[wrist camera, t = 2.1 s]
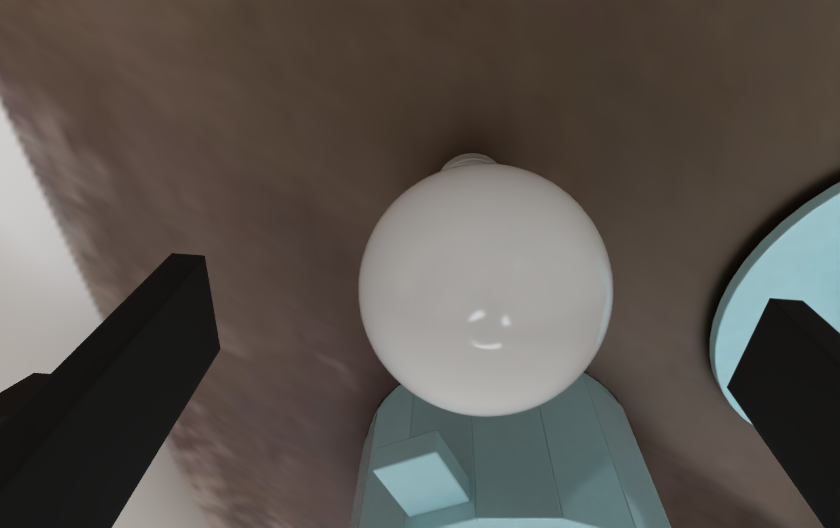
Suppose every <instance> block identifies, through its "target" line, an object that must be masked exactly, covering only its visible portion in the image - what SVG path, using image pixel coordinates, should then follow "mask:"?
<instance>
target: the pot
mask: <svg viewBox="0 0 840 528" xmlns="http://www.w3.org/2000/svg"><path fill="white" fill-rule="evenodd" d="M349 528H671V525H670V523H669V520H668V518H667V515H666V513H665V510H664V508H663V505H662V503H661V500H660V498H659V495H658V493H657V491H656V488H655V486H654V483H653V481H652V478H651V476H650V473H649V471H648V468H647V466H646V463H645V461H644V459H643V456H642V454H641V451H640V449H639V446H638V444H637V441H636V439H635V436H634V434H633V432H632V429H631V427H630V424H629V422H628V419H627V417H626V414H625V412H624V410H623V407H622V406H621V405H620V404H619V403H618V401H617V400H616V399H615V398H614V396H613V395H612V394H611V393H610V392H609V391H608V390H607V389H606V388H605V387H604V386H603V385H602V384H600V383H599V382H598V381H596V380H595V379H593V378H592V377H590V376H589V375H587V374H586V373H584V372H583V374H582V375H581V376H580V377H579V378H578V379H577V380H576V381H575V382H574V383H573V384H572V385H570V386H569V387H568V388H567V389H566V390H564V391H563V392H562V393H560V394H559V395H557V396H556V397H554V398H553V399H551V400H549V401H547V402H545V403H544V404H542V405H539V406H537V407H535V408H532V409H529V410H526V411H523V412H520V413H516V414H511V415H505V416H496V417H478V416H468V415H462V414H458V413H454V412H450V411H447V410H444V409H441V408H439V407H436V406H434V405H432V404H430V403H428V402H426V401H424V400H422V399H420V398H419V397H417V396H416V395H414V394H413V393H411V392H410V391H409V390H407V389H406V388H405V387H404V386H402V385H401V384H400V385H399V386H398V387H396V388H395V389H394V390H393V391H392V392H391V393H390V394H389V395H388V396H387V397H386V398H385V400H384V401H383V402H382V404H381V405H380V406H379V408H378V409H377V411H376V413H375V415H374V417H373V419H372V421H371V425H370V428H369V431H368V435H367V438H366V440H365V442H364V446H363V451H362V457H361V463H360V468H359V474H358V479H357V485H356V491H355V496H354V502H353V508H352V513H351V519H350V524H349Z"/></svg>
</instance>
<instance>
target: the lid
mask: <svg viewBox="0 0 840 528" xmlns="http://www.w3.org/2000/svg"><path fill="white" fill-rule="evenodd" d="M770 298H776V299H790V300H803V301H804V302H805V303H806V304H807V305H809V306H810V307H811V308H812V309H813V310H814V311H815V312H816V313H818V314H819V315H820V316H821V317H822V318H823V319H824V320H826V321H827V322H828V323H829V324H830V325H831V326H832V327H833V328H835V329H836V330H837V331H838V332H839V333H840V182H839V183H837V184H835V185H833V186H831V187H830V188H828V189H827V190H825V191H824V192H822V193H820V194H819V195H817V196H816V197H814V198H813V199H811V200H810V201H808V202H807V203H805V204H804V205H803V206H801V207H800V208H799V209H797V210H796V211H795V212H794V213H792V214H791V215H790V216H789V217H787V218H786V219H785V220H783V221H782V222H781V223H780V224H779V225H778V226H777V227H776V228H775V229H774V230H773V231H772V232H770V233H769V234H768V235H767V236H766V237H765V238H764V239H763V240H762V241H761V242H760V243H759V244H758V246H757V247H756V248H755V249H754V250H753V251H752V252H751V254H750V255H749V256H748V257H747V258H746V259H745V261H744V262H743V263H742V265H741V266H740V268H739V269H738V271H737V272H736V274H735V275H734V276H733V278H732V279H731V281H730V283H729V285H728V286H727V288H726V290H725V292H724V294H723V296H722V298H721V300H720V302H719V305H718V308H717V311H716V314H715V316H714V319H713V324H712V329H711V334H710V361H711V366H712V372H713V374H714V377H715V379H716V382H717V385H718V387H719V388H720V390H721V391H722V393H723V394H724V396H725V398H726V399H727V401H728V402H729V404H730V405H731V406H732V407H733V409H734V410H735V411H736V412H737V413H738V414H739V415H740V416H741V417H742V418H744V419H745V420H746V421H748V422H749V423H750V424H752V423H751V422H750V420H749V419H748V417H747V416H746V414H745V413H744V412H743V410H742V409H741V407H740V406H739V404H738V403H737V402H736V400H735V399H734V397H733V396H732V394H731V393H730V391H729V390H728V389H727V386H728V383H729V381H730V379H731V377H732V375H733V373H734V371H735V369H736V367H737V365H738V363H739V361H740V359H741V357H742V354H743V352H744V350H745V348H746V346H747V344H748V342H749V340H750V338H751V336H752V334H753V332H754V330H755V328H756V325H757V323H758V321H759V319H760V317H761V315H762V313H763V311H764V309H765V307H766V305H767V303H768V301H769V299H770ZM752 425H753V424H752Z"/></svg>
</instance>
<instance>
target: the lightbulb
mask: <svg viewBox="0 0 840 528" xmlns="http://www.w3.org/2000/svg"><path fill="white" fill-rule="evenodd" d="M613 295H614V286H613V275H612V268H611V263H610V259H609V256H608V253H607V249H606V247H605V244H604V242H603V239H602V237H601V235H600V233H599V231H598V229H597V228H596V226H595V224H594V223H593V221H592V220H591V218H590V217H589V215H588V214H587V213H586V212H585V210H584V209H583V208H582V207H581V206H580V204H579V203H578V202H577V201H576V200H575V199H574V198H573V197H571V196H570V195H569V194H568V193H567V192H566V191H564V190H563V189H562V188H560V187H559V186H557V185H556V184H554V183H553V182H551V181H549V180H548V179H546V178H544V177H542V176H540V175H538V174H536V173H533V172H530V171H528V170H525V169H522V168H518V167H514V166H510V165H504V164H497V163H496V162H495V161H494V160H493V159H491V158H490V157H488V156H485V155H482V154H478V153H467V154H462V155H459V156H457V157H455V158H453V159H451V160H450V161H449V162H447V163H446V164H445V165H444V166H443V168H442V169H441V171H440V172H437V173H435V174H432V175H430V176H428V177H426V178H424V179H422V180H421V181H419V182H417V183H416V184H414V185H413V186H411V187H410V188H409V189H407V190H406V191H405V192H404V193H402V194H401V195H400V196H399V197H398V198H397V199H396V200H395V201H394V202H393V203H392V204H391V205H390V206H389V207H388V209H387V210H386V211H385V212H384V214H383V215H382V216H381V218H380V219H379V221H378V222H377V224H376V226H375V227H374V229H373V231H372V233H371V235H370V237H369V240H368V242H367V245H366V247H365V250H364V253H363V257H362V261H361V265H360V272H359V281H358V298H359V307H360V313H361V318H362V322H363V325H364V329H365V332H366V334H367V337H368V339H369V342H370V344H371V346H372V348H373V350H374V351H375V353H376V355H377V356H378V358H379V359H380V361H381V362H382V364H383V365H384V366H385V368H386V369H387V370H388V371H389V373H390V374H391V375H392V376H393V377H394V378H395V379H396V380H397V381H398V382H399V383H400V384H401V385H402V386H404V387H405V388H406V389H407V390H409V391H410V392H411V393H413V394H414V395H416V396H417V397H419V398H420V399H422V400H424V401H426V402H428V403H430V404H432V405H434V406H436V407H439V408H441V409H444V410H447V411H450V412H454V413H458V414H462V415H468V416H478V417H496V416H505V415H511V414H516V413H520V412H523V411H526V410H529V409H532V408H535V407H537V406H539V405H542V404H544V403H545V402H547V401H549V400H551V399H553V398H554V397H556V396H557V395H559V394H560V393H562V392H563V391H564V390H566V389H567V388H568V387H569V386H570V385H572V384H573V383H574V382H575V381H576V380H577V379H578V378H579V377H580V376H581V375H582V374H583V372H584V371H585V370H586V369H587V367H588V366H589V365H590V363H591V362H592V360H593V359H594V357H595V356H596V354H597V352H598V350H599V349H600V347H601V345H602V342H603V340H604V338H605V335H606V332H607V329H608V326H609V323H610V318H611V313H612V307H613Z"/></svg>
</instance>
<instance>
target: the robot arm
mask: <svg viewBox="0 0 840 528" xmlns="http://www.w3.org/2000/svg"><path fill="white" fill-rule="evenodd" d="M219 350H220V344H219V338H218V332H217V326H216V320H215V314H214V308H213V303H212V297H211V291H210V285H209V279H208V273H207V267H206V261H205V256H202V255H188V254H175V253H172V254H171V255H170V256H169V257H168V258H167V259H166V260H165V261H164V262H163V263H162V264H161V265H160V266H159V267H158V268H157V269H156V270H155V271H154V272H153V273H152V274H151V275H150V276H149V277H148V278H147V279H146V280H145V281H144V282H143V283H142V284H141V285H140V286H139V287H138V288H137V289H136V290H135V291H134V292H133V293H132V294H131V295H130V296H129V297H128V298H127V299H126V300H125V301H124V302H123V303H121V304H120V305H119V306H118V307H117V308H116V309H115V310H114V311H113V312H112V313H111V314H110V315H109V316H108V317H107V318H106V319H105V320H104V321H103V322H102V323H101V324H100V325H99V326H98V327H97V328H96V329H95V330H94V332H93V333H91V335H90V336H88V338H86V339H85V340H84V341H83V342H82V343H81V344H80V345H79V346H78V347H77V348H76V350H75V351H73V352H72V353H71V355H69V356H68V357H67V359H65V360H64V361H63V362H62V363H61V365H59V366H58V368H56V369H55V370H54V371H53V372H52V373H51V374H41V373H33V374H31V375H30V376H28V377H26V378H25V379H23V380H21V381H19V382H18V383H16V384H14V385H13V386H11V387H9V388H8V389H6V390H4V391H2V392H1V393H0V528H112V526H113V524H114V523H115V521H116V520H117V518H118V516H119V515H120V513H121V511H122V510H123V508H124V506H125V505H126V503H127V502H128V500H129V498H130V497H131V495H132V493H133V492H134V490H135V488H136V487H137V485H138V483H139V482H140V480H141V478H142V477H143V475H144V474H145V472H146V470H147V469H148V467H149V465H150V464H151V462H152V460H153V459H154V457H155V456H156V454H157V452H158V450H159V449H160V447H161V446H162V444H163V442H164V441H165V439H166V437H167V436H168V434H169V433H170V431H171V429H172V428H173V426H174V424H175V423H176V421H177V419H178V418H179V416H180V414H181V413H182V411H183V410H184V408H185V406H186V405H187V403H188V401H189V400H190V398H191V396H192V395H193V393H194V391H195V390H196V388H197V387H198V385H199V383H200V382H201V380H202V378H203V377H204V375H205V373H206V372H207V370H208V368H209V367H210V365H211V364H212V362H213V360H214V359H215V357H216V355H217V354H218V352H219ZM727 389H728V390H729V391H730V393H731V394H732V396H733V397H734V399H735V400H736V402H737V403H738V404H739V406H740V407H741V409H742V410H743V412H744V413H745V414H746V416H747V417H748V419H749V420H750V422H751V423H752V424H753V426H754V427H755V429H756V430H757V432H758V433H759V434H760V436H761V437H762V439H763V440H764V442H765V443H766V444H767V446H768V447H769V449H770V450H771V452H772V453H773V454H774V456H775V457H776V459H777V460H778V462H779V463H780V464H781V466H782V467H783V469H784V470H785V472H786V473H787V474H788V476H789V477H790V479H791V480H792V482H793V483H794V484H795V486H796V487H797V489H798V490H799V492H800V493H801V494H802V496H803V497H804V499H805V500H806V502H807V503H808V505H809V506H810V507H811V509H812V510H813V512H814V513H815V515H816V516H817V517H818V519H819V520H820V522H821V523H822V525H823V526H824V527H825V528H840V333H839V332H838V331H837V330H836V329H835V328H833V327H832V326H831V325H830V324H829V323H828V322H827V321H826V320H824V319H823V318H822V317H821V316H820V315H819V314H818V313H816V312H815V311H814V310H813V309H812V308H811V307H810V306H809V305H807V304H806V303H805V302H804V301H803V300H790V299H776V298H770V299H769V301H768V303H767V305H766V307H765V309H764V311H763V313H762V315H761V317H760V319H759V321H758V323H757V325H756V328H755V330H754V332H753V334H752V336H751V338H750V340H749V342H748V344H747V346H746V348H745V350H744V352H743V354H742V357H741V359H740V361H739V363H738V365H737V367H736V369H735V371H734V373H733V375H732V377H731V379H730V381H729V383H728V386H727Z"/></svg>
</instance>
